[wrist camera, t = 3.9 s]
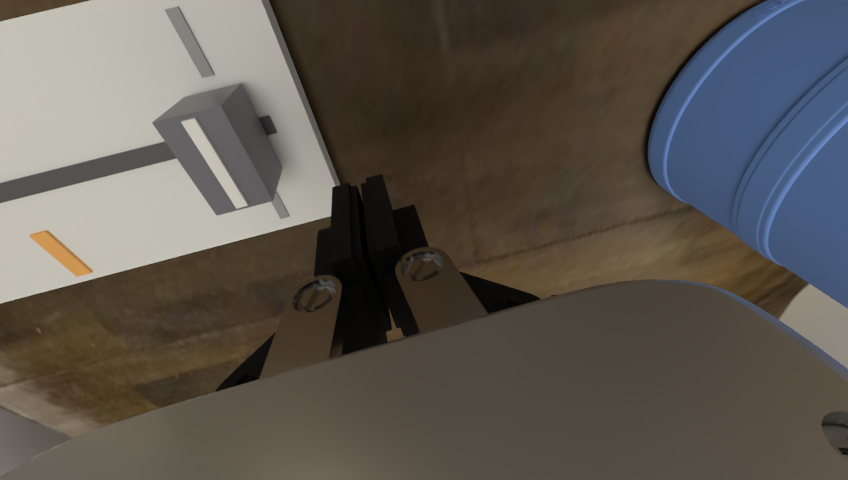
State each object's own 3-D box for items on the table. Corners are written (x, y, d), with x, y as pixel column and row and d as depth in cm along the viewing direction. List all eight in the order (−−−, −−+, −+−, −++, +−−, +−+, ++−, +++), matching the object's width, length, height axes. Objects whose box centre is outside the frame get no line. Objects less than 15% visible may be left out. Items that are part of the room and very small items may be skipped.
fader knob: (240, 82, 18) (219, 106, 15) (282, 167, 21) (272, 202, 18) (184, 96, 18) (149, 124, 15) (234, 180, 21) (215, 217, 18)
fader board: (255, -36, 17) (245, -37, 16) (345, 197, 26) (346, 213, 24) (-329, 102, 16) (-408, 117, 15) (-30, 296, 25) (-57, 319, 23)
